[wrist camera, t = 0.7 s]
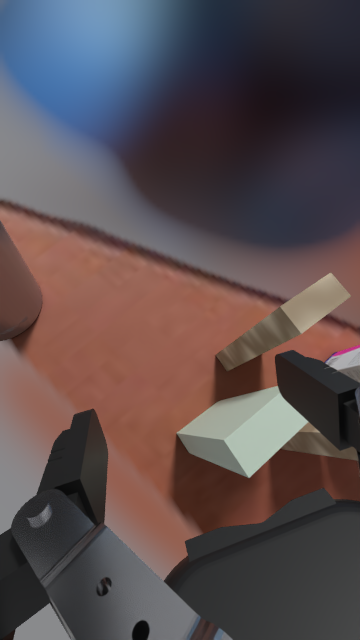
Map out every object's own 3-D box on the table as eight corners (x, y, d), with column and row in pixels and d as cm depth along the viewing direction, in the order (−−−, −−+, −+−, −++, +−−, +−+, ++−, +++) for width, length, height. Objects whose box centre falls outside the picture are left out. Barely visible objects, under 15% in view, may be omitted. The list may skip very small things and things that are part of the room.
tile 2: (268, 430, 32) (381, 434, 18) (302, 400, 34) (426, 383, 20) (281, 449, 31) (407, 468, 17) (315, 417, 33) (450, 412, 20)
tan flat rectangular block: (215, 355, 34) (280, 306, 20) (250, 331, 36) (330, 272, 22) (227, 371, 33) (301, 333, 19) (261, 346, 35) (351, 296, 22)
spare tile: (176, 433, 30) (223, 440, 16) (218, 400, 32) (292, 382, 18) (189, 453, 29) (248, 477, 15) (230, 418, 31) (316, 414, 18)
